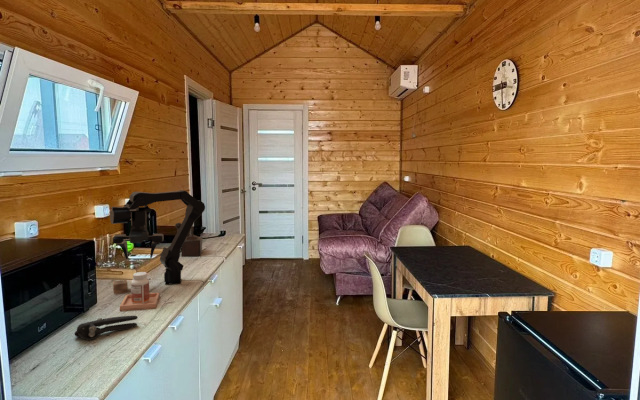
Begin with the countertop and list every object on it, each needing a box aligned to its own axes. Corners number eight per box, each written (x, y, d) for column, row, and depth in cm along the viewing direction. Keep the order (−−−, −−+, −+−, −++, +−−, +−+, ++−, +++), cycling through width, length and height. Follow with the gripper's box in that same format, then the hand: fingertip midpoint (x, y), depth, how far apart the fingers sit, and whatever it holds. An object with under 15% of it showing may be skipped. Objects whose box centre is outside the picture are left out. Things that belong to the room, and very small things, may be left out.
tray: (159, 296, 152) (159, 292, 152) (155, 308, 141) (155, 303, 141) (126, 299, 149) (126, 294, 149) (119, 310, 137) (119, 306, 137)
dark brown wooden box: (202, 252, 227) (203, 222, 225) (200, 256, 216) (200, 225, 214) (175, 252, 225) (175, 222, 223) (171, 256, 214) (171, 225, 212)
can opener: (77, 346, 112) (77, 327, 111) (73, 337, 117) (72, 319, 116) (141, 329, 124) (141, 313, 123) (134, 322, 129) (134, 306, 128)
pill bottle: (146, 297, 149) (145, 270, 148) (151, 302, 145) (151, 274, 144) (129, 301, 145) (128, 273, 144) (134, 306, 141) (134, 277, 140)
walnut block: (126, 288, 161) (126, 279, 160) (127, 292, 156) (127, 283, 156) (113, 290, 158) (113, 281, 158) (113, 294, 154) (113, 284, 153)
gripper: (109, 225, 148) (109, 264, 149) (160, 225, 153) (161, 262, 155) (115, 221, 159) (116, 257, 160) (163, 220, 164) (163, 255, 166)
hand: (139, 258), depth 160 cm, fingers open, 9 cm apart
